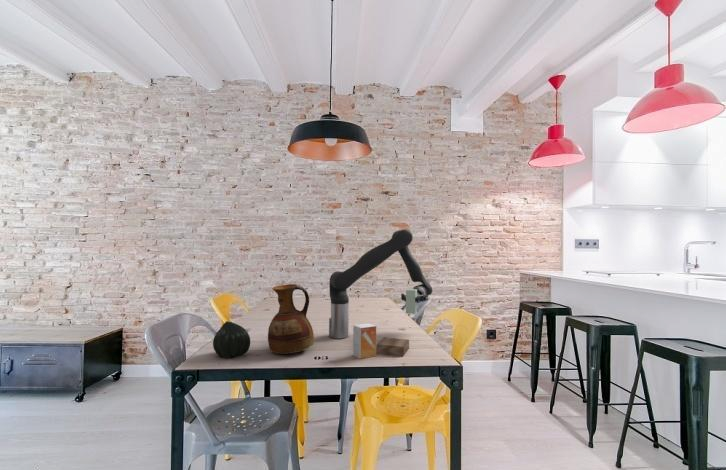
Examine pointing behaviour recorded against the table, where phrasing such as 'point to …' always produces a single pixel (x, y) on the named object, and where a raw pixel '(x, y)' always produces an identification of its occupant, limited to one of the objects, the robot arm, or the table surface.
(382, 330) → the table surface
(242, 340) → the squash
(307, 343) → the ceramic pitcher
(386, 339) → the walnut base block
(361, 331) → the small box
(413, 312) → the sage block
